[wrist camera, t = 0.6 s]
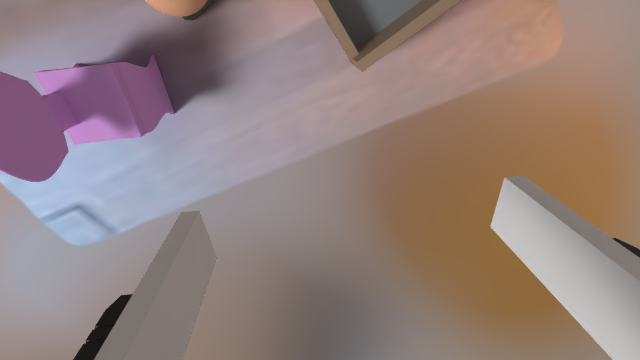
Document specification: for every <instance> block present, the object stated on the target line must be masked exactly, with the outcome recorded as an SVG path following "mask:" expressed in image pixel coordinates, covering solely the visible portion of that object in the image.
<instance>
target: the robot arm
mask: <svg viewBox="0 0 640 360" xmlns="http://www.w3.org/2000/svg"><path fill="white" fill-rule="evenodd" d="M491 228H492V229H493V230H494V231H495V232H496V233H497V234H498V235H499V236H500V238H501V239H502V240H503V241H504V242H505V243H506V244H507V245H508V246H509V247H510V248H511V250H512V251H513V252H514V253H515V254H516V255H517V256H518V257H519V258H520V259H521V260H522V261H523V262H524V264H525V265H526V266H527V267H528V268H529V269H530V270H531V271H532V272H533V273H534V275H535V276H536V277H537V278H538V279H539V280H540V281H541V282H542V283H543V284H544V285H545V286H546V288H547V289H548V290H549V291H550V292H551V293H552V294H553V295H554V296H555V297H556V298H557V299H558V301H559V302H560V303H561V304H562V305H563V306H564V307H565V308H566V309H567V310H568V311H569V313H570V314H571V315H572V316H573V317H574V318H575V319H576V320H577V321H578V322H579V323H580V324H581V325H582V327H583V328H584V329H585V330H586V331H587V332H588V333H589V334H590V335H591V336H592V337H593V338H594V340H595V341H596V342H597V343H598V344H599V345H600V346H601V347H602V348H603V349H604V350H605V351H606V353H607V354H608V355H609V356H610V357H611V358H612V359H613V360H640V250H639V249H638V248H636V247H634V246H631V245H629V244H627V243H625V242H623V241H621V240H619V239H616V238H611V237H609V236H608V235H606V234H605V233H603V232H602V231H601V230H599V229H598V228H596V227H595V226H594V225H592V224H590V223H589V222H588V221H586V220H585V219H583V218H582V217H581V216H579V215H578V214H576V213H575V212H574V211H572V210H571V209H569V208H568V207H567V206H565V205H564V204H562V203H561V202H559V201H558V200H556V199H555V198H554V197H552V196H551V195H549V194H548V193H546V192H545V191H544V190H542V189H541V188H539V187H538V186H537V185H535V184H534V183H532V182H531V181H529V180H528V179H527V178H525V177H524V176H522V175H520V176H511V177H505V178H504V181H503V185H502V189H501V192H500V195H499V199H498V202H497V206H496V209H495V213H494V216H493V220H492V224H491ZM216 259H217V257H216V254H215V251H214V248H213V246H212V243H211V240H210V238H209V235H208V232H207V230H206V227H205V224H204V222H203V219H202V217H201V214H200V211H192V212H183V213H181V214H180V216H179V217H178V219H177V221H176V222H175V224H174V226H173V227H172V229H171V231H170V232H169V234H168V236H167V237H166V240H165V241H164V243H163V244H162V246H161V248H160V249H159V251H158V253H157V254H156V256H155V258H154V259H153V262H152V263H151V265H150V266H149V268H148V269H147V271H146V273H145V275H144V277H143V278H142V280H141V281H140V283H139V285H138V286H137V288H136V290H135V291H134V293H133V294H131V295H121V296H120V297H119V298H118V299H117V300H116V301H115V302H114V303H113V304H112V305H110V306H109V308H107V309H106V310H105V312H104V313H103V315H102V316H101V318H100V319H99V321H98V323H97V324H96V326H95V329H94V330H92V332H91V333H90V335H89V336H88V338H87V339H86V344H83V346H82V347H81V349H80V350H79V352H78V353H77V355H76V356H75V358H74V359H73V360H183V358H184V355H185V352H186V349H187V346H188V343H189V340H190V337H191V334H192V330H193V328H194V325H195V322H196V319H197V316H198V313H199V310H200V307H201V304H202V301H203V297H204V295H205V292H206V289H207V286H208V283H209V280H210V277H211V274H212V271H213V268H214V265H215V262H216Z"/></svg>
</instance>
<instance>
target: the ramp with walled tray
mask: <svg viewBox="0 0 640 360" xmlns="http://www.w3.org/2000/svg"><path fill="white" fill-rule="evenodd" d="M314 1H315V3H316V4H317V6H318V8H319V9H320V11H321V13H322V14H323V16H324V18H325V19H326V21H327V23H328V24H329V26H330V28H331V29H332V31H333V33H334V34H335V36H336V38H337V39H338V41H339V43H340V44H341V46H342V48H343V49H344V51H345V53H346V54H347V56H348V58H349V59H350V61H351V63H352V64H353V65H355V66H356V67H357V68H358V69H360V70H361V71H362V72H363V71H364V70H366V69H367V68H368V67H370V66H371V65H373V64H374V63H375V62H377V61H378V60H379V59H381V58H382V57H384V56H385V55H386V54H388V53H389V52H390V51H392V50H393V49H395V48H396V47H397V46H399V45H400V44H401V43H403V42H404V41H406V40H407V39H408V38H410V37H411V36H413V35H414V34H415V33H417V32H418V31H419V30H421V29H422V28H424V27H425V26H426V25H428V24H429V23H430V22H432V21H433V20H435V19H436V18H437V17H439V16H440V15H441V14H443V13H444V12H446V11H447V10H448V9H450V8H451V7H453V6H454V5H455V4H457V3H458V2H459V1H461V0H314Z"/></svg>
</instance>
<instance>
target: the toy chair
mask: <svg viewBox="0 0 640 360" xmlns="http://www.w3.org/2000/svg"><path fill="white" fill-rule="evenodd" d="M33 74H34V76H35V77H36V79H37V81H38V83H39V84H40V86H41V88H42V90H43V91H44V93H45V94H46V95H43V96H41V95H40V93H39V92H38V91H37V90H36V89H35V88H34V87H33V86H32V85H31V84H30V83H29V82H28V81H27V80H22V79H19V78H17V77H14V76H11V75H8V74H6V73H3V72H0V171H2V172H4V173H6V174H9V175H11V176H14V177H17V178H19V179H22V180H26V181H30V182H40V181H44V180H46V179H48V178H50V177H51V176H52V175H53V174H54V173H55V172H56V171H57V169H58V168H59V166H60V165H61V163H62V161H63V160H64V158H65V156H66V154H67V153H68V147H67V143H66V139H65V136H64V133H63V132H64V131H65V130H66V132H67V134H68V135H69V137H70V139H71V141H72V142H73V144H82V143H90V142H97V141H105V140H114V139H124V138H134V137H142V136H143V135H144V134H146V133H149V132H151V131H152V130H154V129H155V127H156V126H157V124H158V123H159V121H160V119H161V118H162V117H163V115H164V114H165V113H170V114H175V113H174V110H173V107H172V104H171V101H170V98H169V96H168V93H167V90H166V87H165V85H164V82H163V79H162V76H161V73H160V71H159V68H158V65H157V62H156V59H155V57H154V55H151V56H150V61H149V64H148V66H147V67H141V66H137V65H134V64H131V63H128V62H115V63H108V64H99V65H91V66H83V67H80V65H79V64H75V66H74V68H65V69H56V70H45V71H40V72H34V73H33Z"/></svg>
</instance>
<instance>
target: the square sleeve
mask: <svg viewBox="0 0 640 360" xmlns="http://www.w3.org/2000/svg"><path fill="white" fill-rule="evenodd" d="M213 1H214V0H207V2H206V3H205V5H204V6H203V7H202V8H201V9H200V10H199V11H197V12H196V13H194V14H192V15H188V16H182V17H183V18H184V19H185V20H194V19H195V18H196V17H197V16H198V15H199V14H201V13H202V12H203V11H204V10H205V9H206V8H207V7H208V6H209V5H210V4H211V3H212V2H213Z"/></svg>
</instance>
